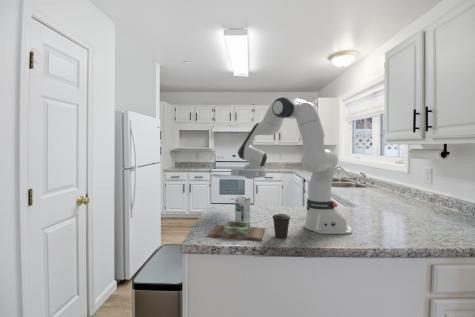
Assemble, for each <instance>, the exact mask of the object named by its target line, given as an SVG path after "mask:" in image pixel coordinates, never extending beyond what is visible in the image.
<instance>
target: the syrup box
mask: <svg viewBox="0 0 475 317" xmlns="http://www.w3.org/2000/svg"><path fill="white" fill-rule="evenodd" d="M234 201H235V203H234V208H235V209H234V221H242V222H250V223H251V197H250V196H248V197H247V196H244V195H240V196H235V199H234Z"/></svg>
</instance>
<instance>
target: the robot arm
mask: <svg viewBox="0 0 475 317" xmlns="http://www.w3.org/2000/svg"><path fill="white" fill-rule="evenodd" d="M285 119H290V120H291V119H292V120H293V119H295V120H296V123H297V126H298V131H299V133H300V138H301V140H302V141H301V142H302V157H301V160H300V163H301V167H302V168H303V170H305V171H306V172H310V173H311V177H310V180H309V181H308V184H307V198H306V215H305V216H306V217H305V221H304V224H303V227H304V229H307V230H310V231H312V232H315V233H317V234H324V235H325V234H326V235H327V234H328V235H330V234H331V235H332V234H334V235H335V234H336V235H337V234H338V235H349V234H352V232H353V230H352V227H351V226H350V225H349V224H348V222H347V219H346V218H347V217H345V215H344V214H343V213H342V212H340V211H339V210H338V209H336V208H337V207H338V204H337V202H336V201H334V200H332V185H333V179H334V174H335V170H336V167H337V165H338V163H339V158H338V155H337V154H336V153H335V152H334V151H332V150H330V149H325V143H324V142H325V140H324V139H325V131H324V129H323V125H322V122H321V119H320V116H319V112H318V111H317V108H316V107H315V105H314V104H313V103H311V102H307V101H306V100H305V99H303V98H296V97H291V96H290V97H289V96H288V97H284V96H283V97H277V98H276V99H275V100H274V101H273V102H272V103H271V104H270V105H269V107H268V109H267V110H266V112H265V114H264V117H263V119H262V120H261V121H260V122H256V124H255V125H254V126H253V127H252V128H251V130H250V131H249V133H248V135H247V137H246V138H245V140H244V141H243V143H242V144H241V145H240V147H239V148H238V150H237V155H238V157H239V158H240V159H242V160H244V161H247V162H249V163H247V164H246V165H244V167H243V168H239V167H237V168H231V169H230V175H231V176H232V177H233V176H236V177H244V178H245V179H248V180H249V179H250V180H252V179H256V178H257V179H258V178H265V177H266V175H267V170H266V168H265V164H266V162H267V159H268V156H267V155H268V154H267V153H266V152H265V151H263V150H261V149H258V148H256V147H254V146H252V145H251V144H252V142H253V140H254V139H255V138H256V137H257V136H273V135H275V134H278V132H279V131H280V129H281V127H282V125H283V122H284V120H285Z"/></svg>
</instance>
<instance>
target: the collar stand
mask: <svg viewBox="0 0 475 317" xmlns="http://www.w3.org/2000/svg"><path fill="white" fill-rule="evenodd" d="M265 230H266V228H265V227H257V226H256V227H255V226H251V221H250V222H242V221H235V220H228V222H227V223H226V224H216V225H215V226H214V227H213V228H212V229H211V230H210V232H209V233H208V238H221V239H234V240H246V241H257V242H258V241H260V242H262V241H263V238H264V235H265Z"/></svg>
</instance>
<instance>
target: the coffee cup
mask: <svg viewBox="0 0 475 317" xmlns="http://www.w3.org/2000/svg"><path fill="white" fill-rule="evenodd" d="M272 219H273V228H274V237H275V238H276V239H281V240H285V239H287V238H288V233H289V225H290V219H291V216H290V215H288V214H284V213H277V214H273V215H272Z"/></svg>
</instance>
